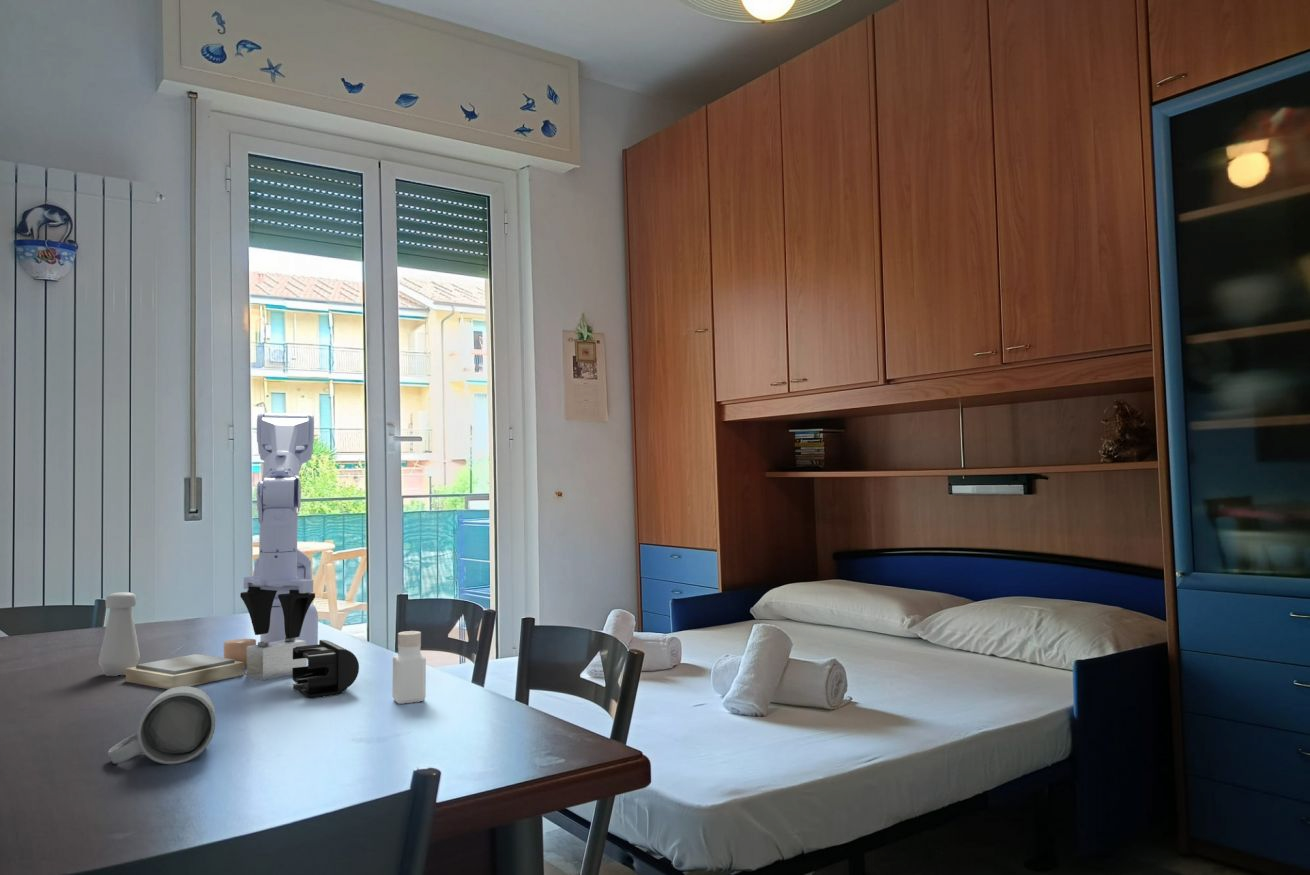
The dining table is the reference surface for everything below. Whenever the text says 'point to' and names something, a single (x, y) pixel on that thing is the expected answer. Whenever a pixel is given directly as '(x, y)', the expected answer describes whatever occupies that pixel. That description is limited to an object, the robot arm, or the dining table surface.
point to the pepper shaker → (409, 669)
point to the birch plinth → (184, 671)
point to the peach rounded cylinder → (237, 649)
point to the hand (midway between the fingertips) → (276, 635)
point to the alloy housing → (273, 659)
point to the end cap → (324, 670)
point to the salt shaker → (119, 636)
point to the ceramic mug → (171, 728)
